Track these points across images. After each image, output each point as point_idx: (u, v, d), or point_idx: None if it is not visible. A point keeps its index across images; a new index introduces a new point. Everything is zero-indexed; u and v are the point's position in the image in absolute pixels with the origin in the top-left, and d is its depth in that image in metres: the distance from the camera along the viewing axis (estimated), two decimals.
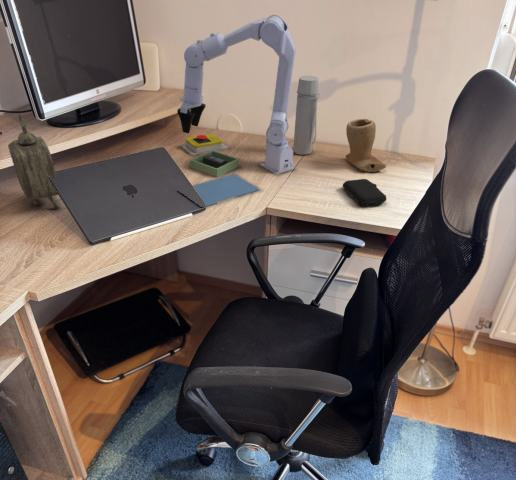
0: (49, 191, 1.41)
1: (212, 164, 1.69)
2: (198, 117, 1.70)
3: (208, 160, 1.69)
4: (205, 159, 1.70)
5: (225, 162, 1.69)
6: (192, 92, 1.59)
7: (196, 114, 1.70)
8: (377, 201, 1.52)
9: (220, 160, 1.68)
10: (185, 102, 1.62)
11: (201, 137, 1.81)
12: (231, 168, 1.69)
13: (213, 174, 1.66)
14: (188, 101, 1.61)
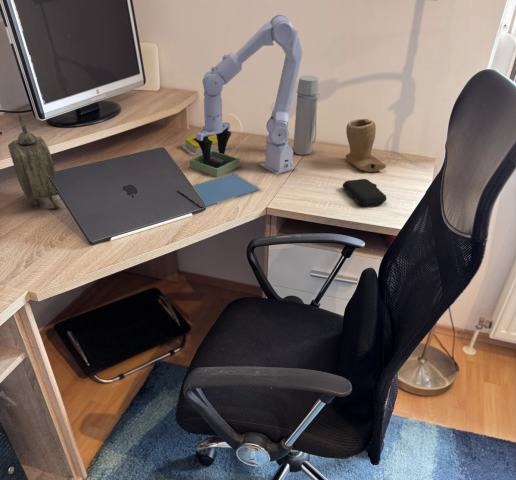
0: (49, 191, 1.41)
1: (212, 164, 1.69)
2: (224, 144, 1.69)
3: None
4: None
5: (225, 162, 1.69)
6: (210, 120, 1.58)
7: (222, 141, 1.68)
8: (377, 201, 1.52)
9: (220, 160, 1.68)
10: (205, 130, 1.62)
11: None
12: (231, 168, 1.69)
13: (213, 174, 1.66)
14: (207, 128, 1.61)
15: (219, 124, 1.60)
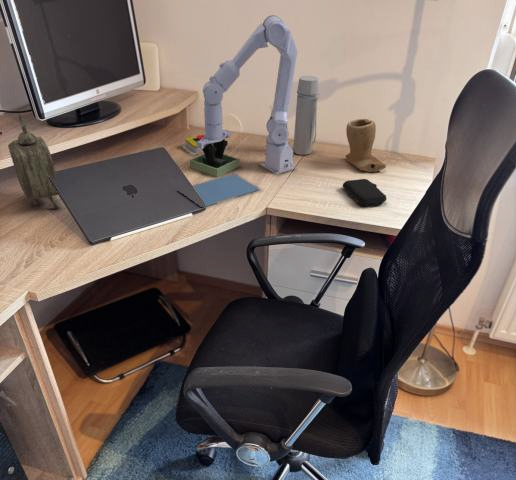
0: (49, 191, 1.41)
1: None
2: (220, 154, 1.69)
3: None
4: (205, 159, 1.70)
5: (225, 162, 1.69)
6: (210, 128, 1.60)
7: (218, 151, 1.69)
8: (377, 201, 1.52)
9: (220, 160, 1.68)
10: (205, 138, 1.64)
11: (201, 137, 1.81)
12: (231, 168, 1.69)
13: (213, 174, 1.66)
14: (207, 137, 1.63)
15: (219, 132, 1.62)
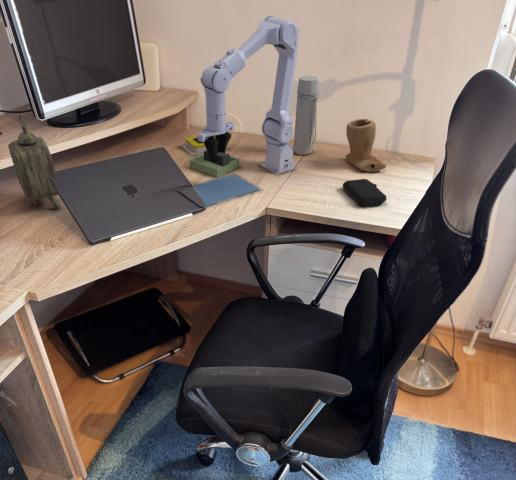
0: (49, 191, 1.41)
1: None
2: (223, 148, 1.55)
3: None
4: (206, 153, 1.56)
5: (228, 157, 1.54)
6: (212, 119, 1.46)
7: (221, 144, 1.55)
8: (377, 201, 1.52)
9: (223, 154, 1.54)
10: (207, 130, 1.49)
11: None
12: (231, 168, 1.69)
13: (213, 174, 1.66)
14: (209, 128, 1.48)
15: (222, 124, 1.47)
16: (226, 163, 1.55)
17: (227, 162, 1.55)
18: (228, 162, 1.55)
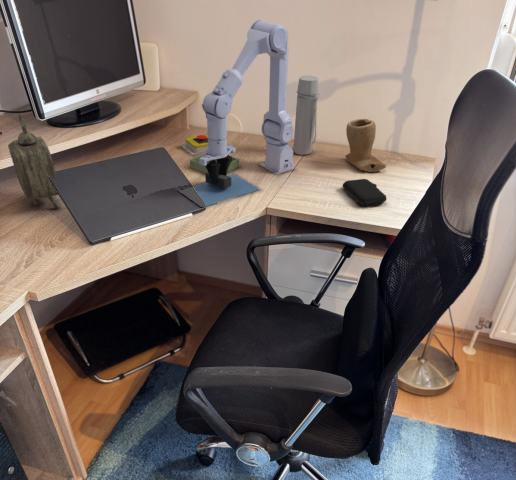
0: (49, 191, 1.41)
1: None
2: (224, 170, 1.57)
3: None
4: (208, 176, 1.57)
5: (229, 179, 1.56)
6: (213, 143, 1.48)
7: (222, 167, 1.56)
8: (377, 201, 1.52)
9: (224, 177, 1.56)
10: (208, 154, 1.51)
11: (201, 137, 1.81)
12: (231, 168, 1.69)
13: None
14: (210, 152, 1.50)
15: (224, 148, 1.49)
16: (227, 185, 1.57)
17: (228, 184, 1.57)
18: (229, 184, 1.57)
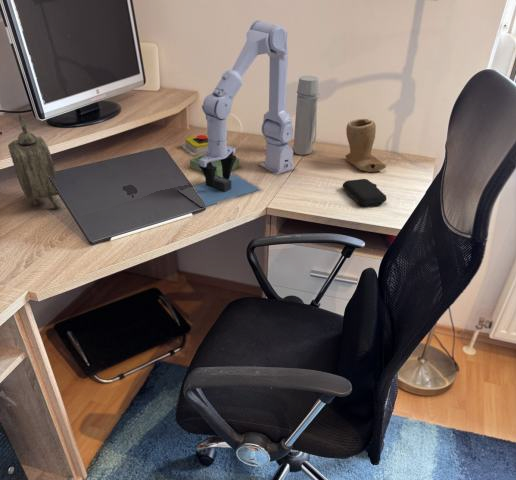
0: (49, 191, 1.41)
1: (215, 185, 1.57)
2: (228, 170, 1.58)
3: None
4: None
5: (229, 182, 1.57)
6: (213, 145, 1.48)
7: (226, 166, 1.58)
8: (377, 201, 1.52)
9: (224, 180, 1.56)
10: (208, 155, 1.51)
11: (201, 137, 1.81)
12: None
13: None
14: (210, 154, 1.50)
15: (224, 149, 1.50)
16: (227, 189, 1.57)
17: (228, 187, 1.57)
18: (229, 187, 1.58)
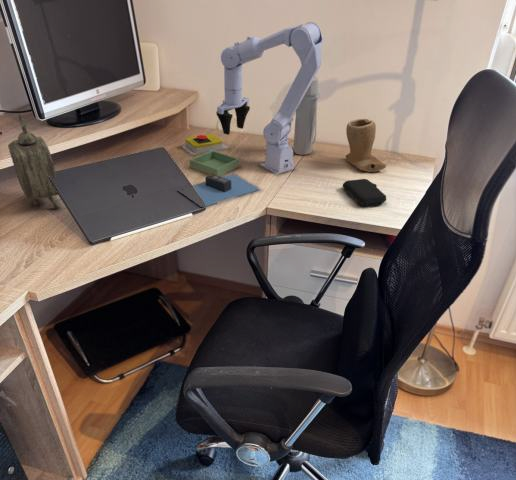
0: (49, 191, 1.41)
1: (215, 185, 1.57)
2: (242, 119, 1.72)
3: (211, 180, 1.57)
4: (208, 179, 1.58)
5: (229, 182, 1.57)
6: (230, 93, 1.62)
7: (240, 116, 1.72)
8: (377, 201, 1.52)
9: (224, 180, 1.56)
10: (225, 104, 1.65)
11: (201, 137, 1.81)
12: (231, 168, 1.69)
13: None
14: (227, 102, 1.64)
15: (239, 98, 1.64)
16: (227, 189, 1.57)
17: (228, 187, 1.57)
18: (229, 187, 1.58)
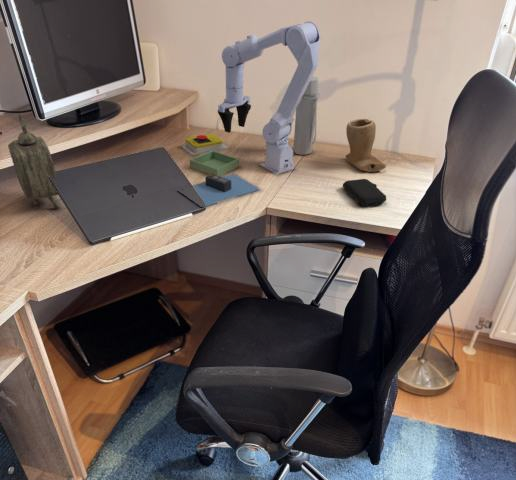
0: (49, 191, 1.41)
1: (215, 185, 1.57)
2: (244, 117, 1.74)
3: (211, 180, 1.57)
4: (208, 179, 1.58)
5: (229, 182, 1.57)
6: (231, 92, 1.63)
7: (242, 115, 1.73)
8: (377, 201, 1.52)
9: (224, 180, 1.56)
10: (226, 102, 1.67)
11: (201, 137, 1.81)
12: (231, 168, 1.69)
13: None
14: (228, 100, 1.66)
15: (240, 96, 1.65)
16: (227, 189, 1.57)
17: (228, 187, 1.57)
18: (229, 187, 1.58)
